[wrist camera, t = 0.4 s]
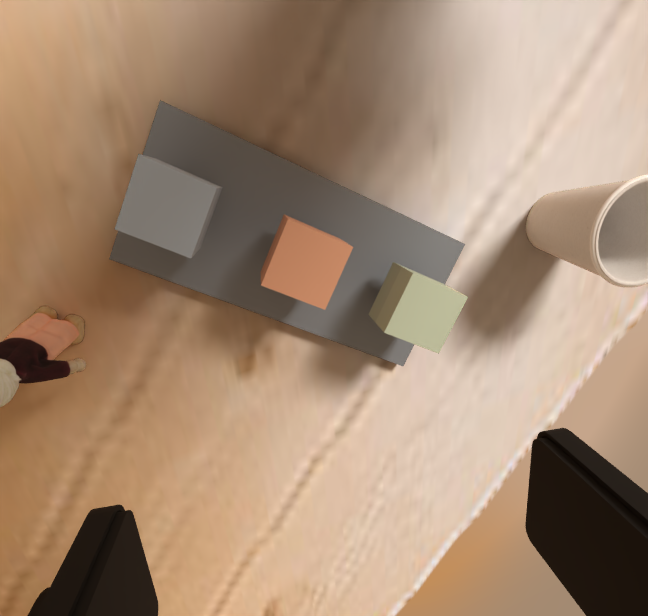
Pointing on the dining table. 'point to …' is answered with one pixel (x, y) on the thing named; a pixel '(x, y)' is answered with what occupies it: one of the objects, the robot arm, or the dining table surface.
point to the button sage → (416, 308)
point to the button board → (262, 224)
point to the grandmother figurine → (38, 351)
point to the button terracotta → (304, 262)
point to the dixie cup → (596, 229)
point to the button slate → (167, 206)
